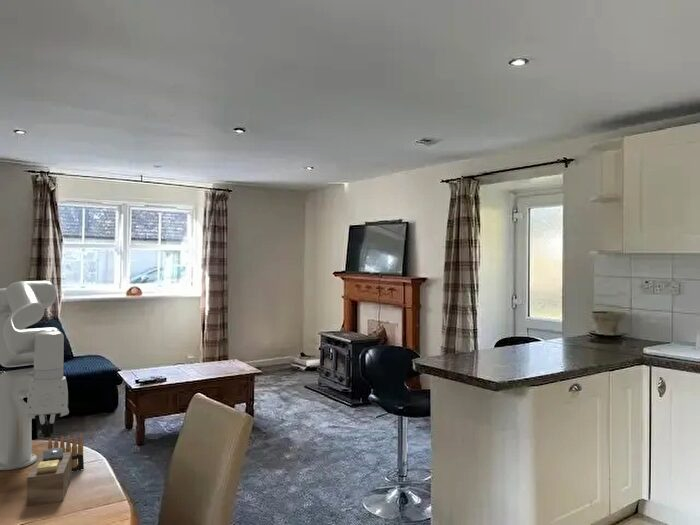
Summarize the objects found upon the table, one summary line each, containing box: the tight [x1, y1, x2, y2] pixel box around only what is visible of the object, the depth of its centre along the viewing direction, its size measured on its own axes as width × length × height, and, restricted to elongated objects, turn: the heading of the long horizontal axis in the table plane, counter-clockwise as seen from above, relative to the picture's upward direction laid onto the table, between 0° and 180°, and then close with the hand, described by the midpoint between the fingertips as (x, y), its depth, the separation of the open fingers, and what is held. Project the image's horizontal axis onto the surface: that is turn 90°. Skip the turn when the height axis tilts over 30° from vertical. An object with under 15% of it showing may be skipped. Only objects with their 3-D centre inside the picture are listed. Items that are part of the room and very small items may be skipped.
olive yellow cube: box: [37, 460, 59, 474], centre depth 153 cm, size 5×5×5 cm
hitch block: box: [26, 451, 73, 507], centre depth 157 cm, size 18×9×8 cm, turn 21°
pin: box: [42, 447, 63, 461], centre depth 161 cm, size 5×5×10 cm
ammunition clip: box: [47, 432, 85, 472], centre depth 171 cm, size 11×2×12 cm, turn 125°
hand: (47, 436), depth 153 cm, fingers closed
